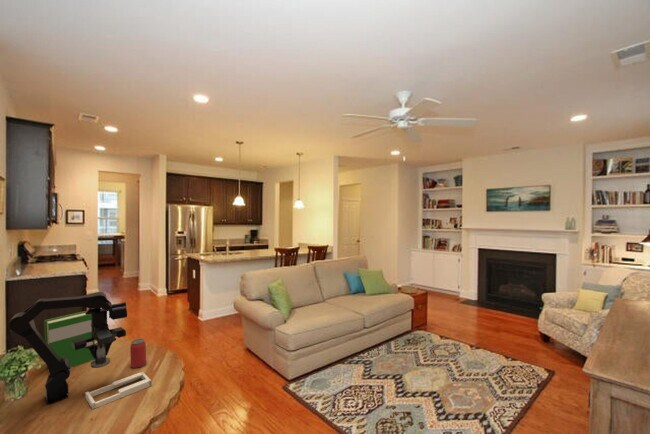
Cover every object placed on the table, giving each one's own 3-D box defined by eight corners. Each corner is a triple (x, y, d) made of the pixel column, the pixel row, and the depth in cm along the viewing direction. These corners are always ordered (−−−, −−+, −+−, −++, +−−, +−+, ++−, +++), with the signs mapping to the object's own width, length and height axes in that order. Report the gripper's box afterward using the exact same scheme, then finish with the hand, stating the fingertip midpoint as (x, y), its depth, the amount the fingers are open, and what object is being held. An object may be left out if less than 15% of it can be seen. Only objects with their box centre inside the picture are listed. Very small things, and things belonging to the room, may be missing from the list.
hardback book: (50, 374, 149) (48, 323, 148) (46, 369, 153) (44, 320, 152) (95, 359, 163) (93, 313, 162) (90, 355, 167) (88, 310, 166)
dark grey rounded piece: (93, 369, 135) (92, 348, 134) (88, 364, 139) (87, 343, 139) (112, 363, 140) (112, 343, 140) (107, 358, 145) (106, 338, 144)
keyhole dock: (92, 409, 125) (92, 403, 124) (85, 397, 132) (85, 392, 132) (151, 385, 141) (151, 380, 141) (142, 376, 148) (142, 371, 148)
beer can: (134, 370, 153) (133, 345, 153) (128, 365, 157) (127, 341, 157) (148, 364, 159) (148, 340, 158) (142, 360, 163) (142, 337, 162)
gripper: (77, 333, 126) (79, 372, 127) (130, 320, 141) (131, 355, 141) (70, 326, 133) (71, 362, 134) (121, 314, 148) (122, 347, 149)
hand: (100, 357), depth 139 cm, fingers closed on dark grey rounded piece, 4 cm apart
